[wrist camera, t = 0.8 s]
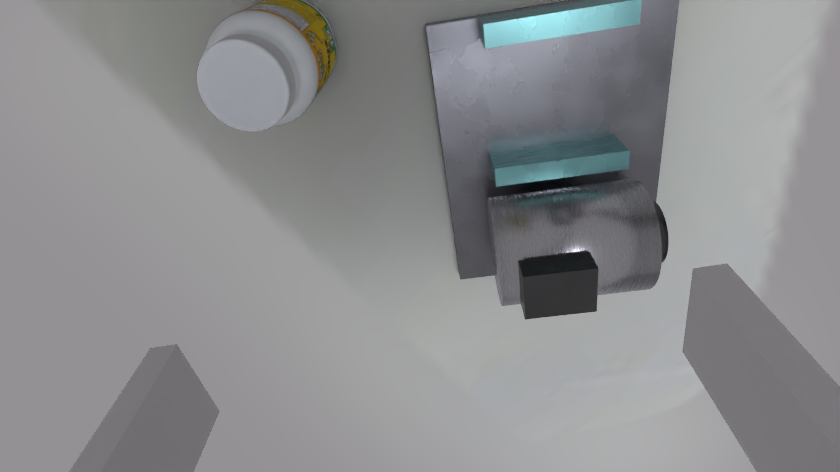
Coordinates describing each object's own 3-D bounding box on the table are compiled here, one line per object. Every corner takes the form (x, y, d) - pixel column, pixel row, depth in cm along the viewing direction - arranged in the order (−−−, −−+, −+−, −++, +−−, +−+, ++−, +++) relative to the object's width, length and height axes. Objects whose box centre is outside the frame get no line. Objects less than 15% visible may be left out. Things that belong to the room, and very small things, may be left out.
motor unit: (425, 23, 28) (426, 57, 20) (672, -17, 27) (779, 1, 19) (459, 271, 38) (469, 362, 29) (644, 249, 36) (707, 337, 28)
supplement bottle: (261, -22, 27) (191, -6, 19) (351, 20, 28) (322, 54, 20) (239, 68, 30) (169, 117, 22) (322, 104, 31) (286, 163, 23)
